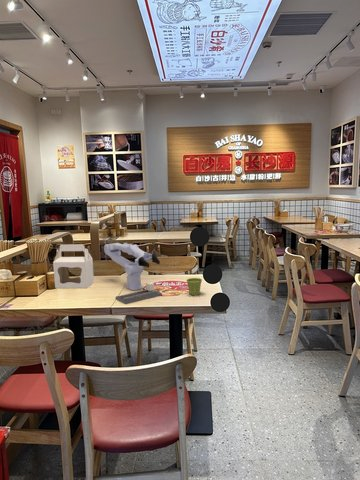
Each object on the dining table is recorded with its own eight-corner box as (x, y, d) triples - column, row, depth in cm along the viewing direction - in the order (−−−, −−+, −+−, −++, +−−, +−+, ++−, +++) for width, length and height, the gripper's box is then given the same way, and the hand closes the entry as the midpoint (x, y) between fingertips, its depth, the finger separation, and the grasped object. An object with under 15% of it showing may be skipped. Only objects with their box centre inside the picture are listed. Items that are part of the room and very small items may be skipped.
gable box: (94, 282, 232) (91, 242, 228) (87, 288, 219) (84, 245, 215) (63, 282, 234) (60, 243, 230) (54, 288, 221) (51, 246, 217)
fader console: (115, 299, 195) (115, 295, 194) (150, 291, 209) (150, 287, 209) (125, 304, 185) (125, 299, 185) (161, 295, 199) (161, 291, 199)
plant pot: (188, 297, 195) (188, 282, 194) (185, 292, 204) (184, 278, 203) (204, 295, 197) (203, 281, 195) (200, 291, 206) (199, 277, 205)
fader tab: (146, 291, 202) (146, 283, 202) (150, 290, 204) (150, 282, 203) (150, 292, 199) (149, 284, 198) (154, 291, 201) (154, 283, 200)
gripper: (131, 251, 201) (144, 260, 192) (150, 246, 210) (164, 255, 201) (130, 262, 204) (143, 271, 195) (150, 256, 213) (163, 265, 204)
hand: (154, 264), depth 198 cm, fingers open, 7 cm apart
